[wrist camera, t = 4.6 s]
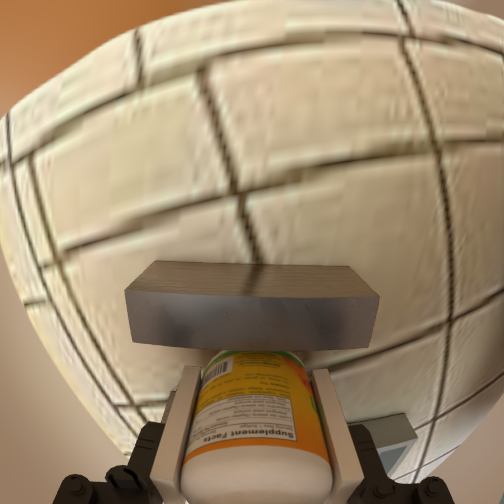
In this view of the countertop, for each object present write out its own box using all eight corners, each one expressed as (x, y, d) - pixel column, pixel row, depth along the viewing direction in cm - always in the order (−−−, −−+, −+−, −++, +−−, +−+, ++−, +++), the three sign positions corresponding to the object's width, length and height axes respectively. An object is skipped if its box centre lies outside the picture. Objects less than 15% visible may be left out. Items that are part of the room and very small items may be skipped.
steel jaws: (348, 266, 14) (379, 296, 10) (317, 417, 17) (328, 460, 13) (155, 260, 14) (124, 290, 10) (175, 414, 17) (164, 457, 13)
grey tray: (404, 413, 17) (418, 437, 15) (359, 487, 21) (365, 506, 18) (236, 429, 17) (235, 461, 14) (237, 498, 21) (236, 520, 18)
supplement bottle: (300, 412, 14) (325, 561, 5) (207, 411, 14) (183, 561, 5) (312, 337, 13) (373, 525, 4) (200, 335, 13) (144, 528, 4)
